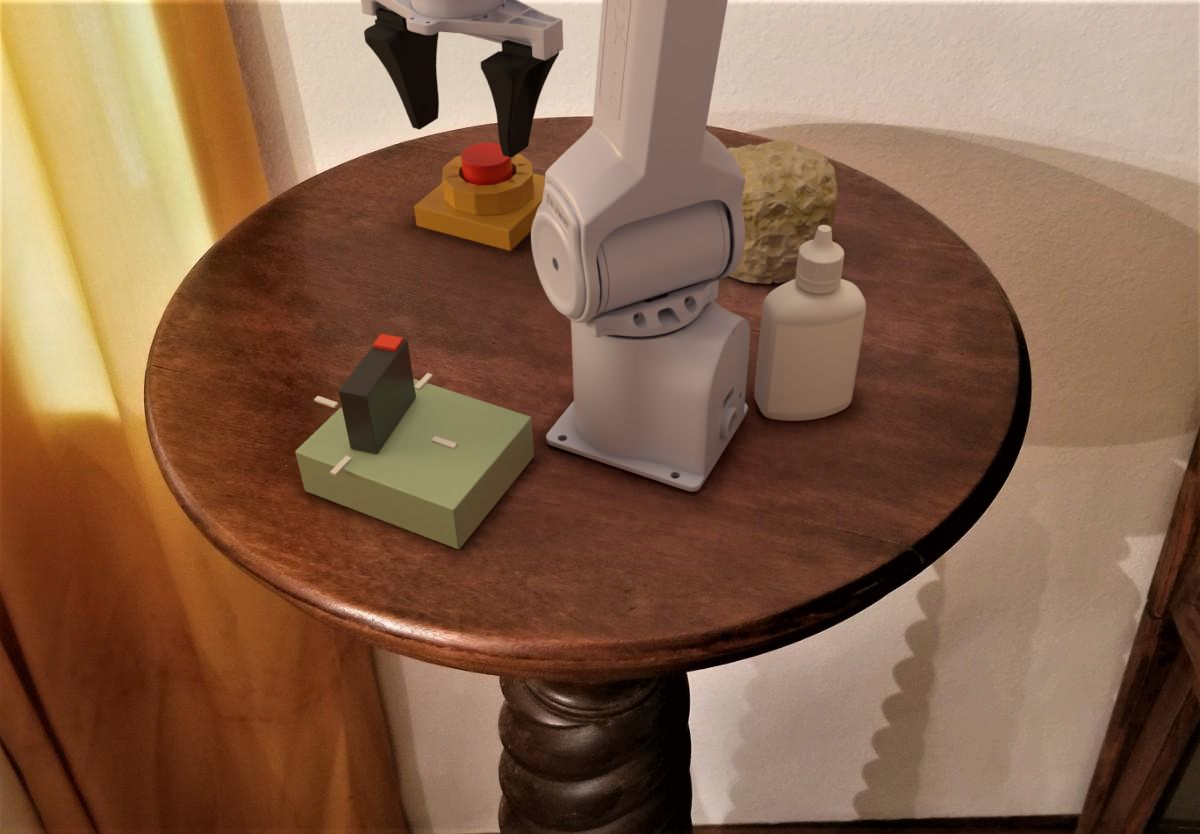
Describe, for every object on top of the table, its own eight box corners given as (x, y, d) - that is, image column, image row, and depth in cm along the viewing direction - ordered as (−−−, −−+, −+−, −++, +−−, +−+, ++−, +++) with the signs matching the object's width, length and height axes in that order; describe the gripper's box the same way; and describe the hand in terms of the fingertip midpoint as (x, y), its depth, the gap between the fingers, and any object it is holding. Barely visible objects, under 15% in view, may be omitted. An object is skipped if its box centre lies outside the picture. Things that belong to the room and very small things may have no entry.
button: (521, 170, 84) (520, 148, 83) (496, 192, 81) (495, 170, 80) (479, 159, 85) (477, 138, 84) (453, 181, 83) (451, 159, 82)
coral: (711, 292, 77) (717, 191, 72) (687, 221, 84) (690, 125, 79) (845, 281, 78) (861, 180, 73) (810, 212, 85) (821, 116, 80)
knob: (377, 454, 61) (365, 392, 58) (350, 448, 61) (337, 387, 58) (416, 396, 64) (407, 336, 62) (390, 391, 65) (380, 330, 62)
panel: (539, 450, 65) (537, 407, 63) (453, 558, 59) (446, 515, 57) (372, 394, 69) (364, 352, 67) (274, 489, 63) (262, 446, 61)
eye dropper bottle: (842, 436, 66) (872, 258, 58) (747, 416, 67) (763, 241, 59) (855, 390, 69) (884, 215, 61) (763, 372, 70) (780, 200, 63)
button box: (564, 199, 87) (562, 157, 84) (510, 251, 81) (507, 208, 79) (473, 177, 89) (469, 136, 87) (416, 226, 84) (410, 183, 82)
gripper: (313, -74, 69) (348, 134, 78) (509, -30, 63) (523, 190, 72) (389, -106, 73) (414, 94, 82) (579, -67, 67) (584, 144, 76)
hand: (469, 136), depth 77 cm, fingers open, 7 cm apart
